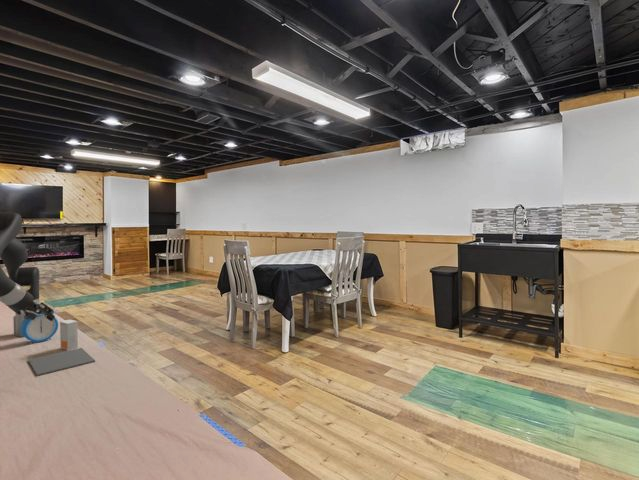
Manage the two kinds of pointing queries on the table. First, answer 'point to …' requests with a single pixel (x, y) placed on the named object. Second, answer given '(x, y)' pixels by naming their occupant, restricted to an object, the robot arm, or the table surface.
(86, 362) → the rubber mat
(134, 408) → the table surface
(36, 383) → the table surface
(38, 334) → the alarm clock
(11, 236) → the robot arm
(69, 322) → the skincare box
